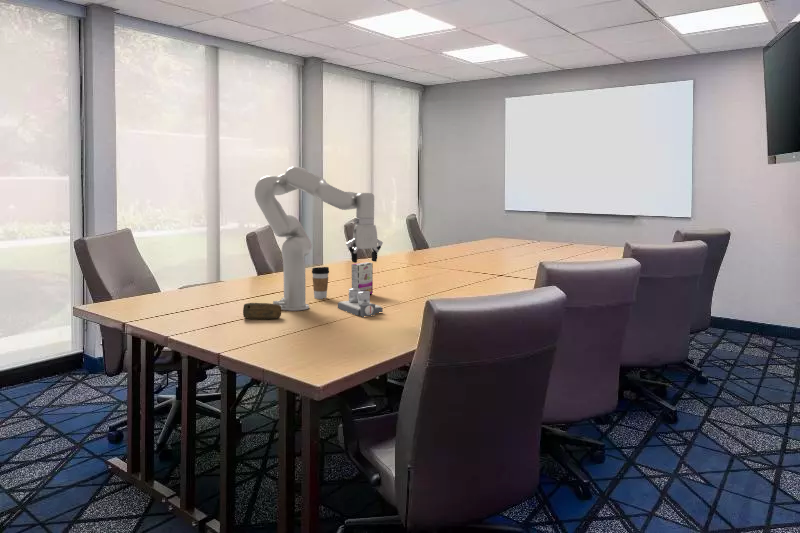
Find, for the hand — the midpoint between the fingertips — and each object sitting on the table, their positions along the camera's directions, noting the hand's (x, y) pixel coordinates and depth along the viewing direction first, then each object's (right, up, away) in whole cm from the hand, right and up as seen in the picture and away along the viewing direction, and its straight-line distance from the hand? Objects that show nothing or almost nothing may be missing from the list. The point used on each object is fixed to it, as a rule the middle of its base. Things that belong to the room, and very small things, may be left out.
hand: (364, 261), depth 254 cm
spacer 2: (0, -19, +2) cm, 19 cm away
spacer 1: (-5, -18, +10) cm, 21 cm away
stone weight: (-41, -24, -13) cm, 49 cm away
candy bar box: (-4, -17, +43) cm, 46 cm away
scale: (-2, -22, +5) cm, 22 cm away
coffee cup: (-24, -18, +35) cm, 46 cm away
